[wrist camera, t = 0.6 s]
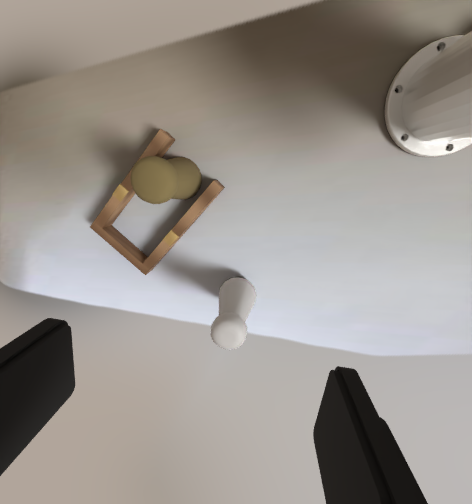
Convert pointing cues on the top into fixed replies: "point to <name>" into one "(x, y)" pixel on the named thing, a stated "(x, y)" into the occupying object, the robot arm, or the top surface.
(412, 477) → the robot arm
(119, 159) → the top surface
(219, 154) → the top surface
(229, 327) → the salt shaker
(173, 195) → the pepper shaker
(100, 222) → the wooden u-shaped frame
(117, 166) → the top surface
